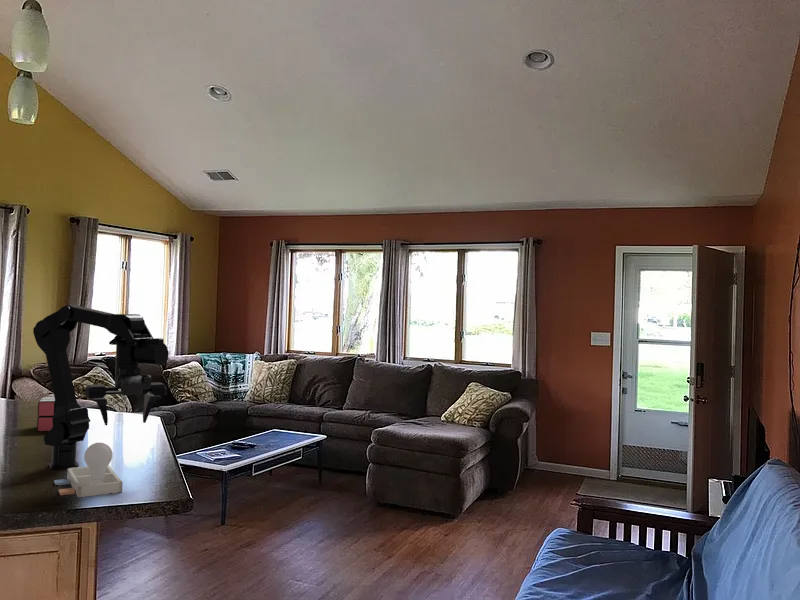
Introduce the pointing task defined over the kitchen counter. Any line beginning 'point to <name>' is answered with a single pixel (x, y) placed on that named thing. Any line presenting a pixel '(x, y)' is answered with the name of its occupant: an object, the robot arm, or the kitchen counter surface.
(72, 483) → the socket board
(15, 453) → the kitchen counter surface
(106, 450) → the lightbulb
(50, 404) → the puzzle cube
